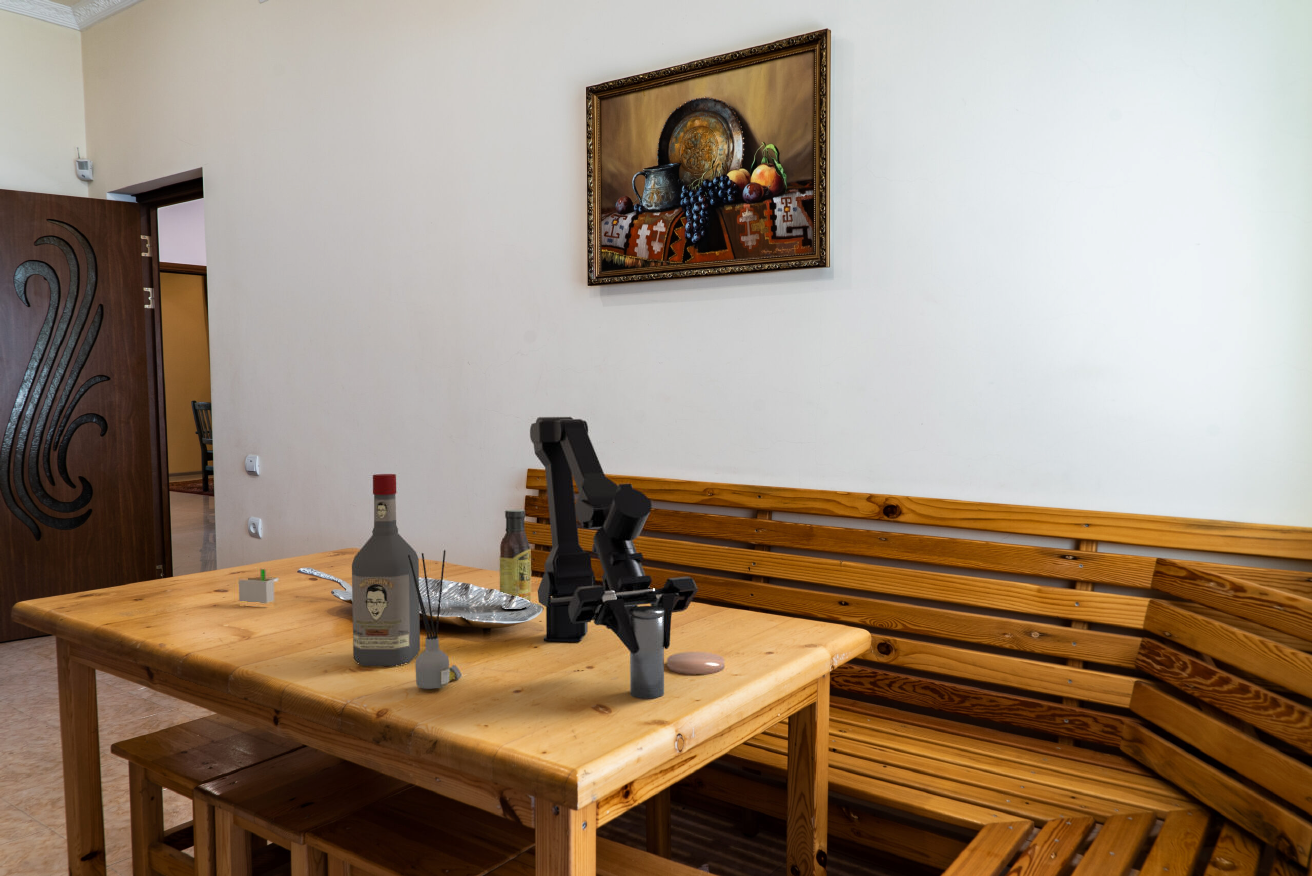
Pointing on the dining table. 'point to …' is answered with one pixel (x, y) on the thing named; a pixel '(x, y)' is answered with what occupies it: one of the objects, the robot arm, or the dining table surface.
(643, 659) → the canister
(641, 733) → the dining table surface
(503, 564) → the sauce bottle
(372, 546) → the liquor
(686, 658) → the soap bar
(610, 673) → the dining table surface
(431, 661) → the reed diffuser
